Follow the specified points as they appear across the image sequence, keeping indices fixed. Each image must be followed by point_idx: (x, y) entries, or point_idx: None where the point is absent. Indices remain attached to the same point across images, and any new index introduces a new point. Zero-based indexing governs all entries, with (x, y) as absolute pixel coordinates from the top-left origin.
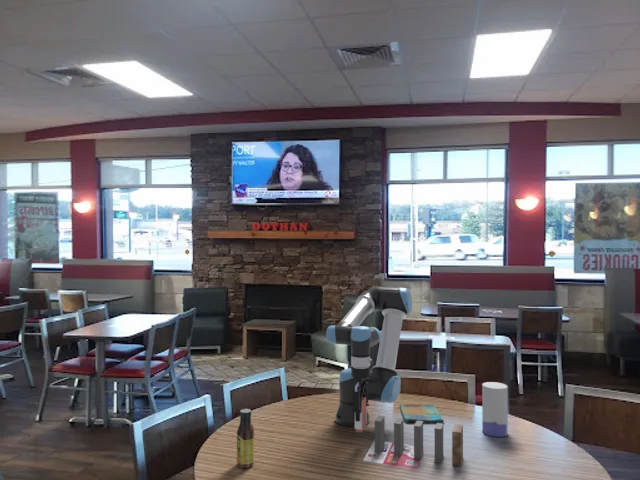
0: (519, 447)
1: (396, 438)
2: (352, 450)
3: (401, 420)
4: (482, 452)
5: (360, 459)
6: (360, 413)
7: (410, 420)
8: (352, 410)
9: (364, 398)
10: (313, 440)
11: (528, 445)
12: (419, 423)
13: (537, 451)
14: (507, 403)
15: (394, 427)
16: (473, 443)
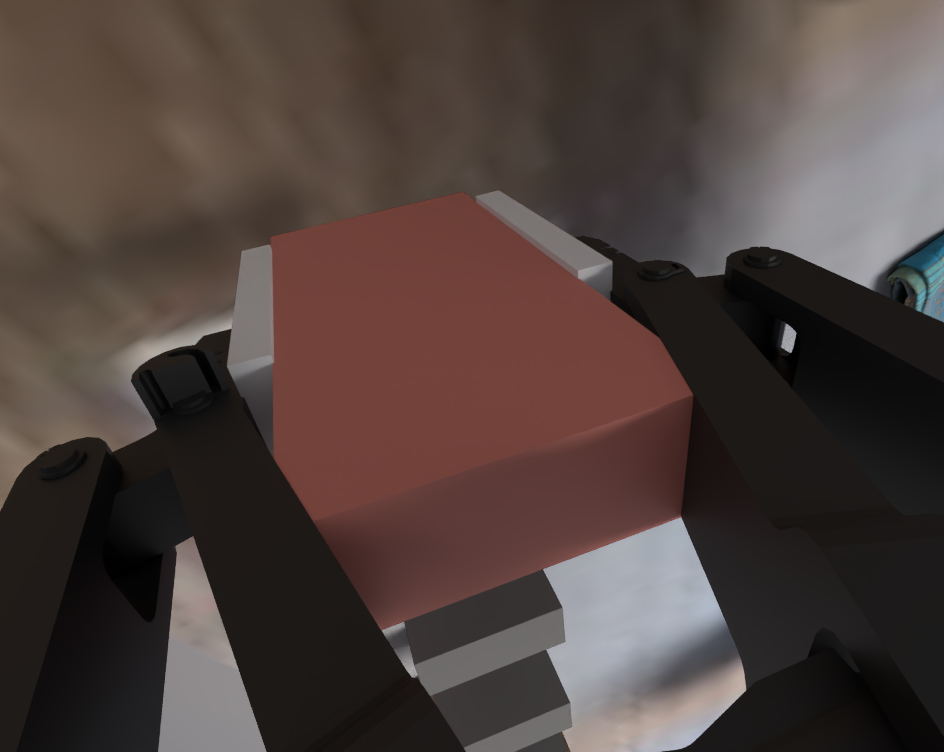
0: (689, 694)
1: None
2: (229, 170)
3: (513, 658)
4: (604, 664)
5: (113, 332)
6: (271, 453)
7: (908, 299)
8: (133, 381)
9: (584, 548)
10: None
11: (712, 698)
12: (513, 743)
13: (672, 728)
14: None
15: (407, 629)
16: (682, 609)
